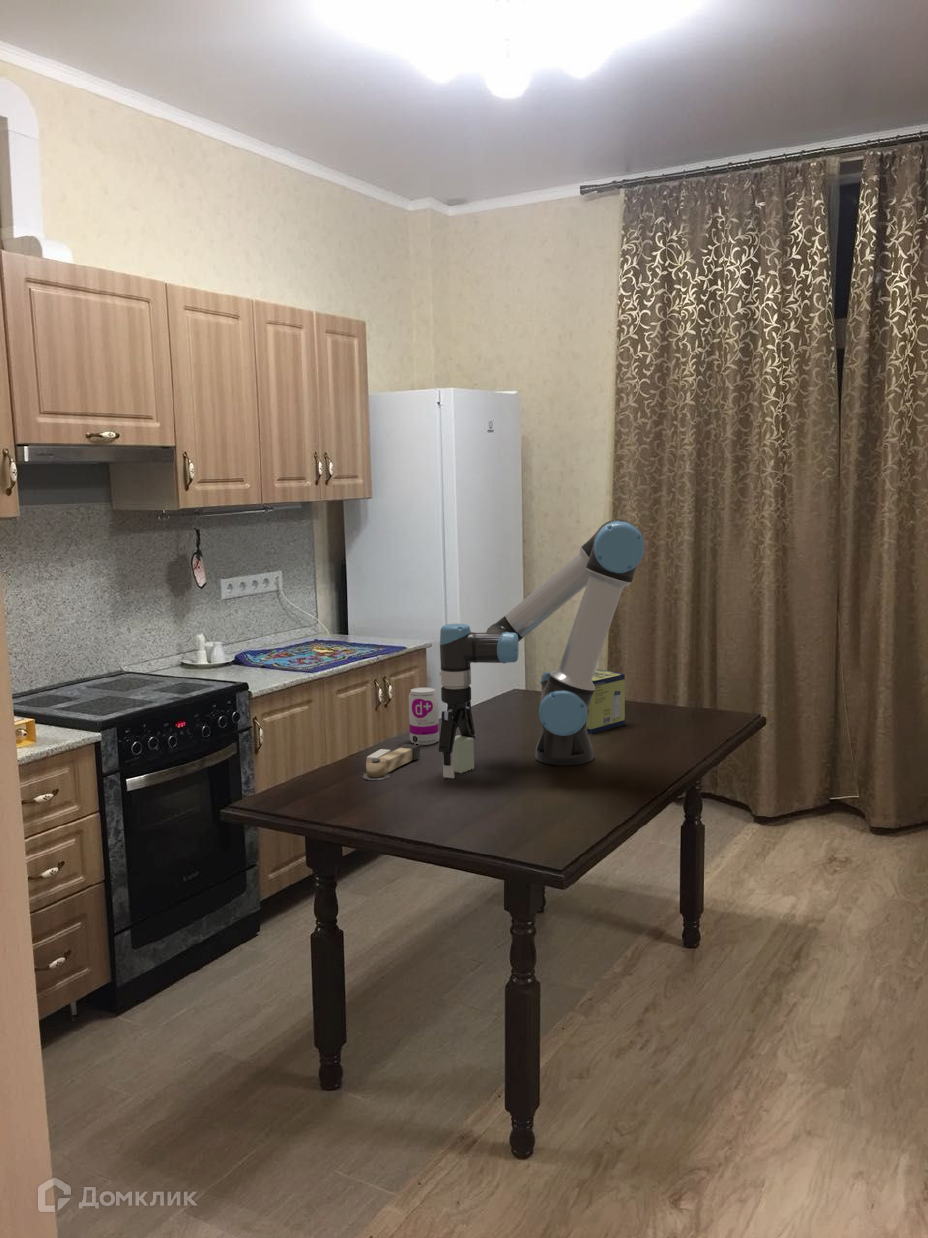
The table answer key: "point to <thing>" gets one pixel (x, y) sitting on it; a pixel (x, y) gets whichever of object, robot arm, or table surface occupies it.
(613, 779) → the table surface
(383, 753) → the stop block
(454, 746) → the tall sage green block
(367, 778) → the pivot plate
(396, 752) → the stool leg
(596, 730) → the protein box
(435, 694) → the supplement can
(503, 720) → the table surface
